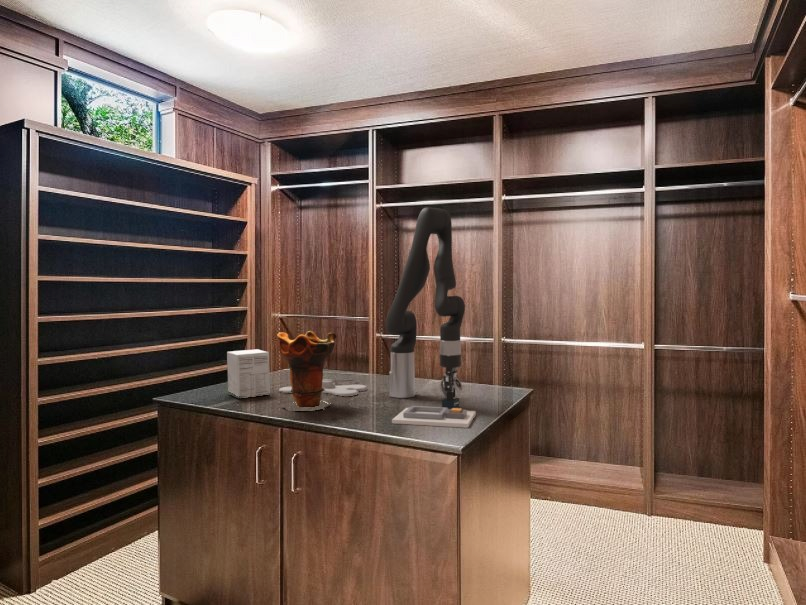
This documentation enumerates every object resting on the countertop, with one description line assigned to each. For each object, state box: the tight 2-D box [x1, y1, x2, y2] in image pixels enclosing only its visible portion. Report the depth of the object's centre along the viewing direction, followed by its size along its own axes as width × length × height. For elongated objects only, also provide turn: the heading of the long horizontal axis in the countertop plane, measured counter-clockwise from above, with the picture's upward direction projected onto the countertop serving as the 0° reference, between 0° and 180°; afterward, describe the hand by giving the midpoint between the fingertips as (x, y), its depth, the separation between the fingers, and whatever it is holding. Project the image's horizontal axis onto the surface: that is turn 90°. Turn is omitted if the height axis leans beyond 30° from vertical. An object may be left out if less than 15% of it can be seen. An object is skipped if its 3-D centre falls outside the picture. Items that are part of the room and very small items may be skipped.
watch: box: [439, 376, 463, 410], centre depth 197 cm, size 6×8×11 cm
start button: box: [451, 407, 463, 413], centre depth 179 cm, size 3×3×2 cm
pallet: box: [391, 405, 477, 429], centre depth 181 cm, size 24×17×3 cm
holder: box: [278, 378, 368, 397], centre depth 231 cm, size 19×34×5 cm, turn 73°
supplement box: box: [226, 348, 271, 397], centre depth 224 cm, size 13×13×18 cm
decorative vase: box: [276, 330, 337, 409], centre depth 202 cm, size 21×23×28 cm
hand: (451, 401), depth 197 cm, fingers closed on watch, 3 cm apart
